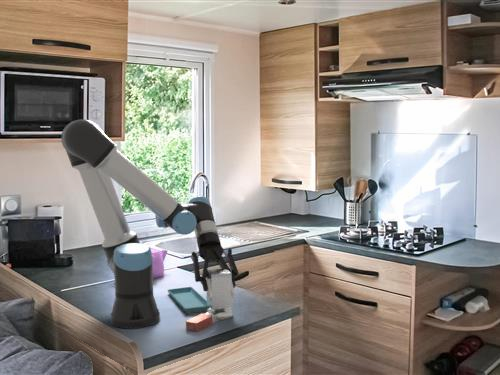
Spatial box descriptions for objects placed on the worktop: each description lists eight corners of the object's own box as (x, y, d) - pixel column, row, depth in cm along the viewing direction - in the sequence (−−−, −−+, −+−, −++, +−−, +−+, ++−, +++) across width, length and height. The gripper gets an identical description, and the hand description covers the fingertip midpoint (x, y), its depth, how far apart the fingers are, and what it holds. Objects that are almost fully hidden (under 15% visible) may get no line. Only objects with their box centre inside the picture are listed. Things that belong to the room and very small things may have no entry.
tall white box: (212, 309, 182) (211, 274, 181) (206, 303, 188) (205, 270, 187) (232, 307, 184) (231, 272, 183) (226, 301, 190) (225, 268, 189)
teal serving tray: (167, 295, 213) (166, 288, 213) (191, 292, 216) (191, 285, 216) (185, 316, 189) (184, 308, 188) (212, 312, 192) (212, 305, 192)
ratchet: (202, 332, 172) (201, 309, 171) (180, 328, 176) (180, 305, 175) (237, 314, 188) (236, 293, 187) (216, 310, 192) (215, 290, 191)
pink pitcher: (116, 282, 231) (115, 251, 230) (128, 271, 248) (127, 242, 246) (159, 282, 230) (158, 251, 228) (168, 271, 246) (167, 242, 245)
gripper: (233, 241, 202) (249, 300, 189) (177, 246, 196) (189, 307, 182) (237, 228, 197) (254, 288, 183) (180, 233, 190) (193, 295, 177)
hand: (222, 297), depth 183 cm, fingers closed on tall white box, 6 cm apart
